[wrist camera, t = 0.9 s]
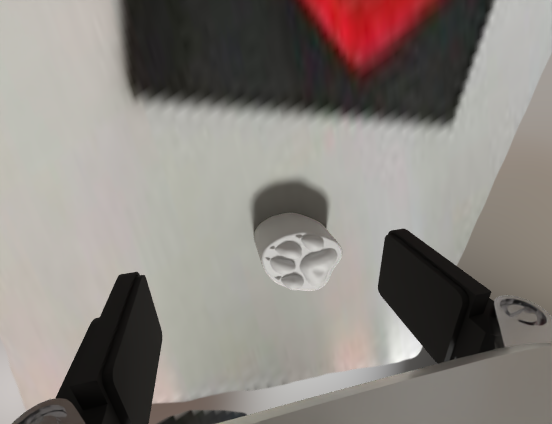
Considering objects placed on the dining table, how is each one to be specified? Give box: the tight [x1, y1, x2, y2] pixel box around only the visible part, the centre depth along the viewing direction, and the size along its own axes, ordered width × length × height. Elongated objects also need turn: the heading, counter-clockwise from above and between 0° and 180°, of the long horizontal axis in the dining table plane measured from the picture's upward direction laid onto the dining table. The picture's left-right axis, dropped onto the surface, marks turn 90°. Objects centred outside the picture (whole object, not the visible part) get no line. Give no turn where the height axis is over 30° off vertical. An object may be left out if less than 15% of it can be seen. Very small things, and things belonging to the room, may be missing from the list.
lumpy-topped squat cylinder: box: [254, 213, 342, 291], centre depth 46 cm, size 10×13×9 cm
